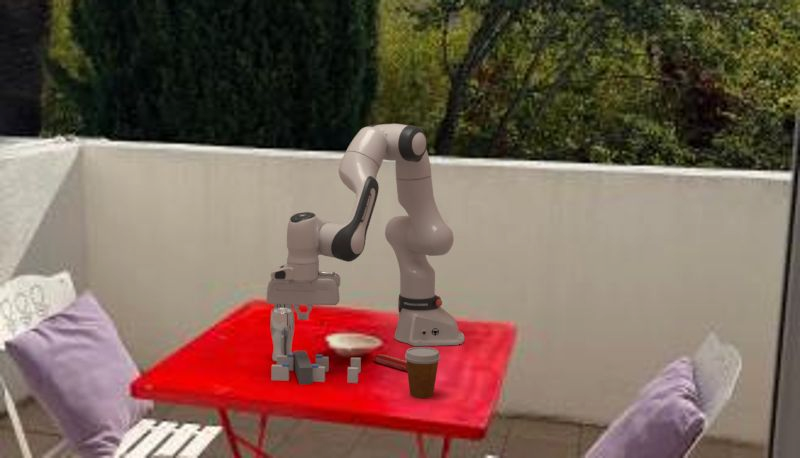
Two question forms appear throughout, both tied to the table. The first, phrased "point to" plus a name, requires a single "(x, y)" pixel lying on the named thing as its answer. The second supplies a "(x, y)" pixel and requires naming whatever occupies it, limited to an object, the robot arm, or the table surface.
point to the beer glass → (282, 331)
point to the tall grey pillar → (303, 367)
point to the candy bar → (391, 361)
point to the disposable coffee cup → (422, 370)
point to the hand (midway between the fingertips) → (303, 319)
